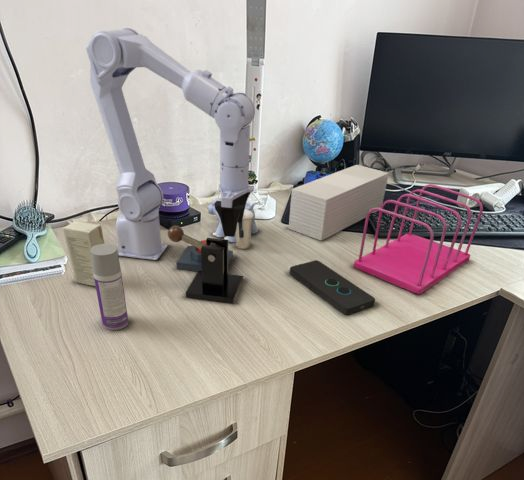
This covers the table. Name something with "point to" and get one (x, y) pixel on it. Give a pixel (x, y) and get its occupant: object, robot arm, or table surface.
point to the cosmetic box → (82, 248)
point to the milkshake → (244, 230)
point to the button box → (194, 259)
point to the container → (109, 286)
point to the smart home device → (332, 287)
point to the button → (202, 242)
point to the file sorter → (416, 247)
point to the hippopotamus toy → (220, 230)
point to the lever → (186, 238)
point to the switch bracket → (215, 275)
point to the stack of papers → (336, 201)
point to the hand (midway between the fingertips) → (233, 228)
